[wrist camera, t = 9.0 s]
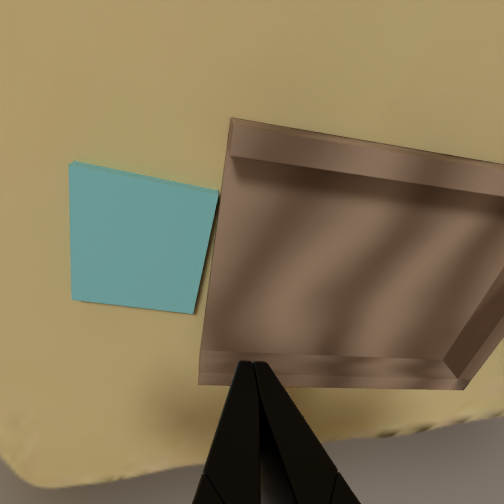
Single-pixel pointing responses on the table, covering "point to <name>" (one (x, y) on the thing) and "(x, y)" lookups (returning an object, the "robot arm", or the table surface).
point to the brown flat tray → (353, 263)
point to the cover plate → (137, 238)
